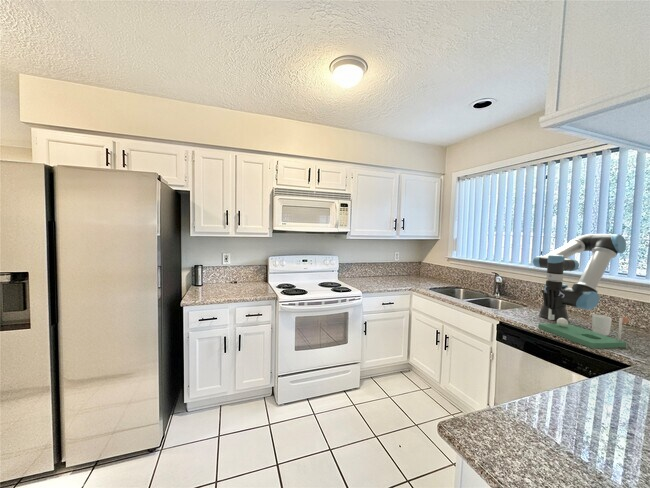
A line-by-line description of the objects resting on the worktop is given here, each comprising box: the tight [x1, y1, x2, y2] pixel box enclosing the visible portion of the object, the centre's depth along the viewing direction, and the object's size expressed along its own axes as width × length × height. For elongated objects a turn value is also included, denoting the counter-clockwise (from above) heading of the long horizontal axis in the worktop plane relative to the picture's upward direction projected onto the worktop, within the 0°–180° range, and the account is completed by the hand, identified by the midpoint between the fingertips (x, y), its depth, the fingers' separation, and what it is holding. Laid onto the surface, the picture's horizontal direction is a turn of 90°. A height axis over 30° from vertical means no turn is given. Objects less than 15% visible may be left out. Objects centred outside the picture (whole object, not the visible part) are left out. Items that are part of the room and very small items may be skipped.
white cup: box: [591, 313, 613, 337], centre depth 153 cm, size 8×8×10 cm
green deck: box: [538, 317, 629, 349], centre depth 146 cm, size 22×28×14 cm
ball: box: [556, 318, 569, 327], centre depth 155 cm, size 5×5×5 cm
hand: (551, 319), depth 162 cm, fingers closed
